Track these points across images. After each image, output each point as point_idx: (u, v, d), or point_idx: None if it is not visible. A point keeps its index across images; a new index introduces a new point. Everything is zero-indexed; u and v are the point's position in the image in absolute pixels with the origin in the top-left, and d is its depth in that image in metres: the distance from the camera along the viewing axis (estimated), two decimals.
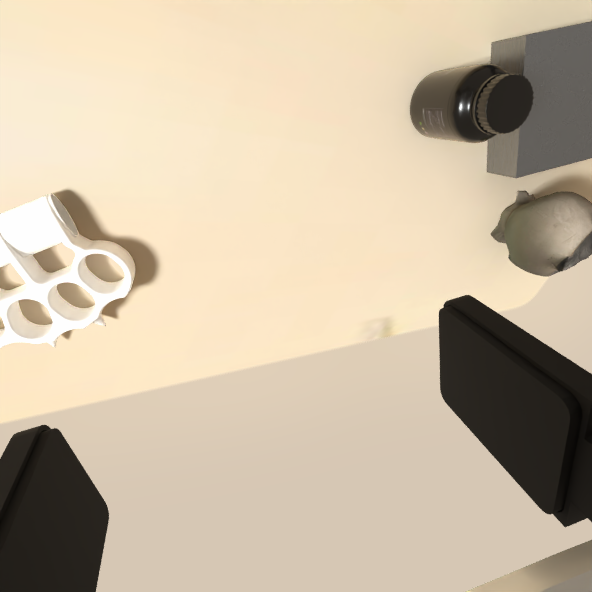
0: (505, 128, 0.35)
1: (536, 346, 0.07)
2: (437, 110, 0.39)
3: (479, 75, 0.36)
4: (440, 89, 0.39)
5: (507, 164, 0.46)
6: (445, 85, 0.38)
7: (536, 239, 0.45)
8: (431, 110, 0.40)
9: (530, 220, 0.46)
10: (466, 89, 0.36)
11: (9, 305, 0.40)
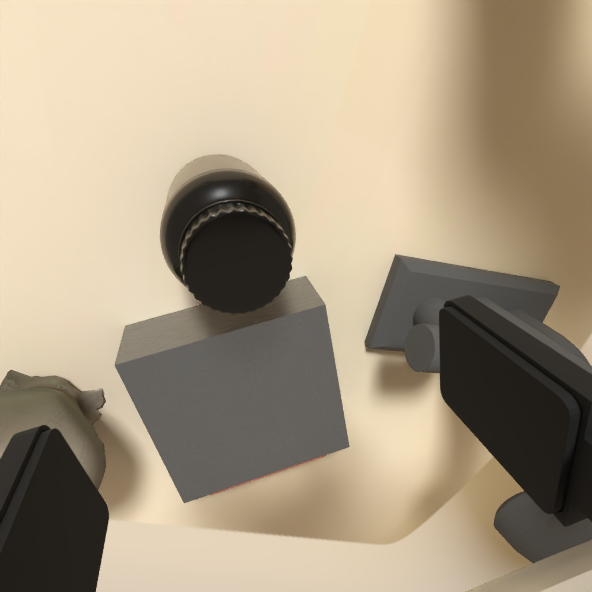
0: (192, 269, 0.16)
1: (536, 346, 0.07)
2: (212, 165, 0.20)
3: (279, 211, 0.19)
4: (247, 168, 0.21)
5: (139, 346, 0.26)
6: (255, 172, 0.21)
7: None
8: (211, 163, 0.21)
9: (27, 418, 0.23)
10: (255, 190, 0.18)
11: None
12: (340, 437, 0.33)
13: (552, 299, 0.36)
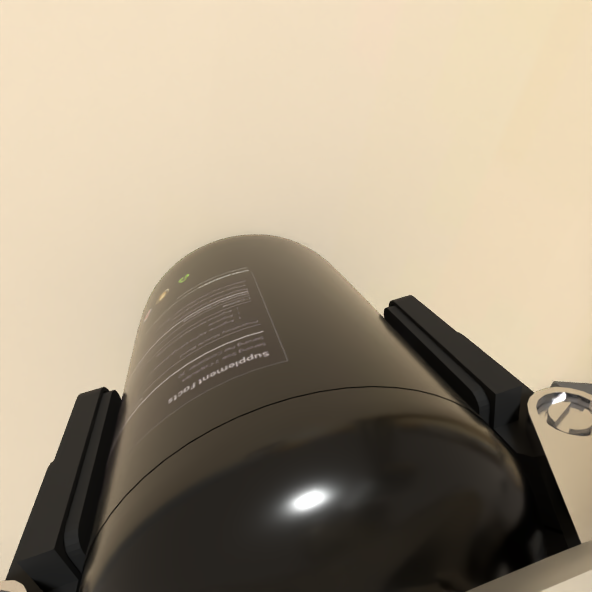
0: None
1: (460, 343, 0.08)
2: (262, 332, 0.06)
3: (537, 548, 0.05)
4: (361, 318, 0.07)
5: None
6: (391, 338, 0.07)
7: None
8: (251, 302, 0.07)
9: None
10: (471, 505, 0.04)
11: None
12: None
13: None
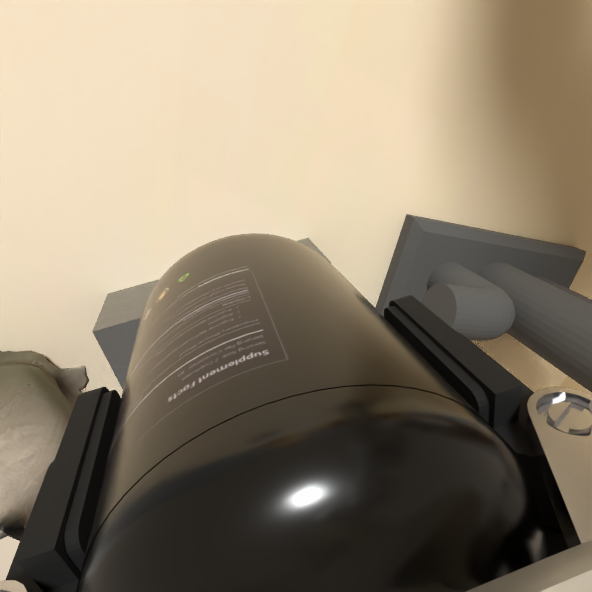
0: None
1: (460, 343, 0.08)
2: (262, 330, 0.06)
3: (537, 547, 0.05)
4: (361, 316, 0.07)
5: (121, 312, 0.23)
6: (391, 337, 0.07)
7: None
8: (252, 301, 0.07)
9: None
10: (471, 504, 0.04)
11: None
12: None
13: (578, 265, 0.33)
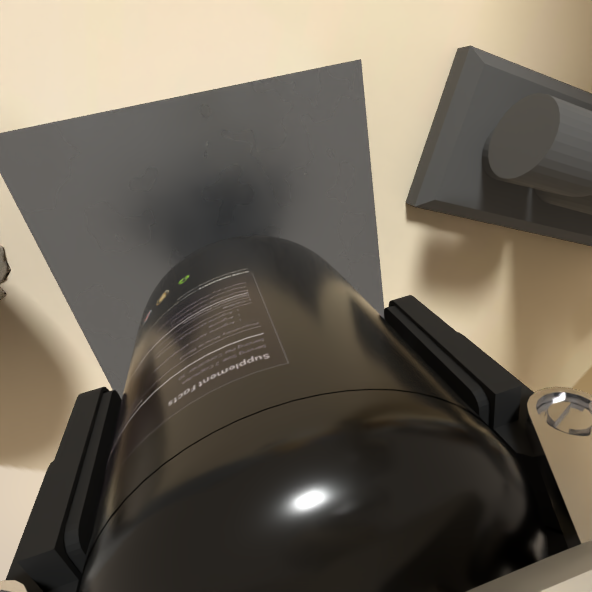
0: None
1: (460, 343, 0.08)
2: (262, 334, 0.06)
3: (539, 552, 0.05)
4: (363, 320, 0.07)
5: None
6: (392, 340, 0.07)
7: None
8: (252, 304, 0.07)
9: None
10: (473, 509, 0.04)
11: None
12: None
13: None
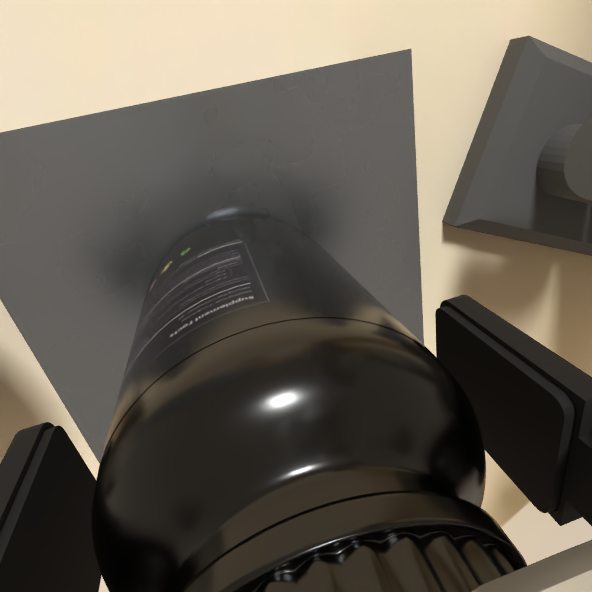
0: None
1: (532, 345, 0.07)
2: (250, 283, 0.07)
3: (470, 450, 0.06)
4: (337, 277, 0.08)
5: None
6: (361, 293, 0.08)
7: None
8: (243, 264, 0.08)
9: None
10: (409, 404, 0.05)
11: None
12: None
13: None
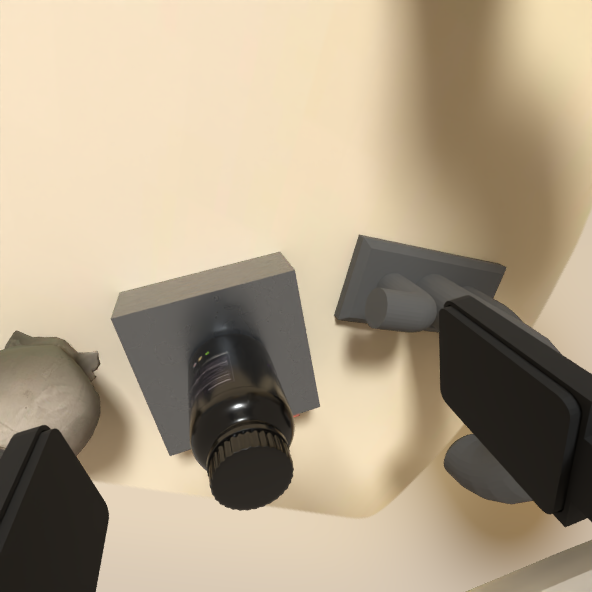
0: (219, 487, 0.22)
1: (536, 346, 0.07)
2: (229, 373, 0.26)
3: (282, 418, 0.25)
4: (257, 369, 0.27)
5: (132, 305, 0.30)
6: (263, 375, 0.27)
7: None
8: (228, 365, 0.27)
9: (35, 358, 0.26)
10: (264, 407, 0.24)
11: None
12: (311, 397, 0.37)
13: (499, 278, 0.41)
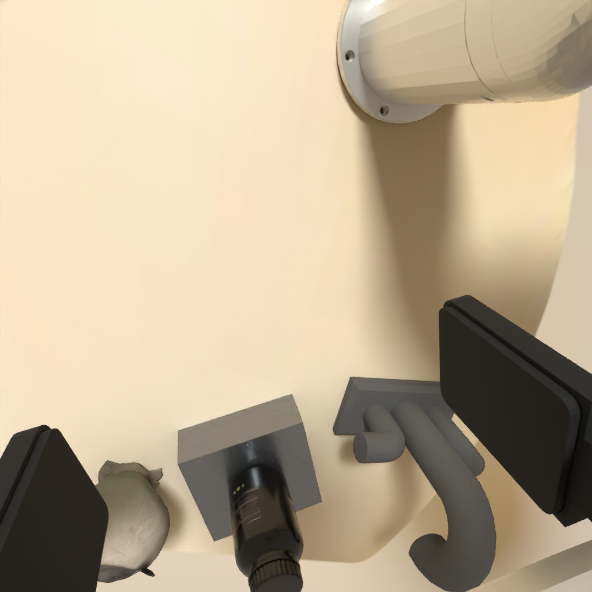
0: None
1: (536, 346, 0.07)
2: (260, 511, 0.40)
3: (295, 544, 0.38)
4: (277, 504, 0.40)
5: (190, 449, 0.44)
6: (282, 509, 0.40)
7: (110, 517, 0.38)
8: (258, 501, 0.41)
9: (132, 500, 0.40)
10: (284, 540, 0.38)
11: None
12: (315, 496, 0.50)
13: None
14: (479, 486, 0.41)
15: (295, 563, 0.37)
